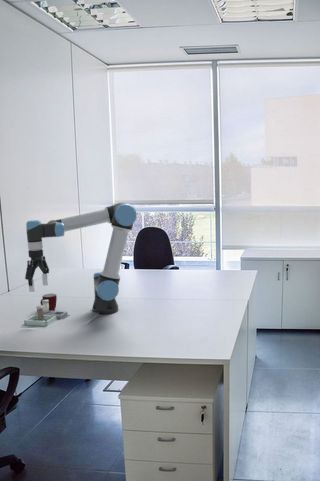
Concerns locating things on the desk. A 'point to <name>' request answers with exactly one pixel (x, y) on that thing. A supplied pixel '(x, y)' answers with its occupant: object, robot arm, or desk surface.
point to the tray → (32, 321)
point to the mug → (50, 301)
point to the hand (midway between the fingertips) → (38, 288)
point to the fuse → (45, 306)
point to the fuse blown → (40, 313)
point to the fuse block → (58, 314)
